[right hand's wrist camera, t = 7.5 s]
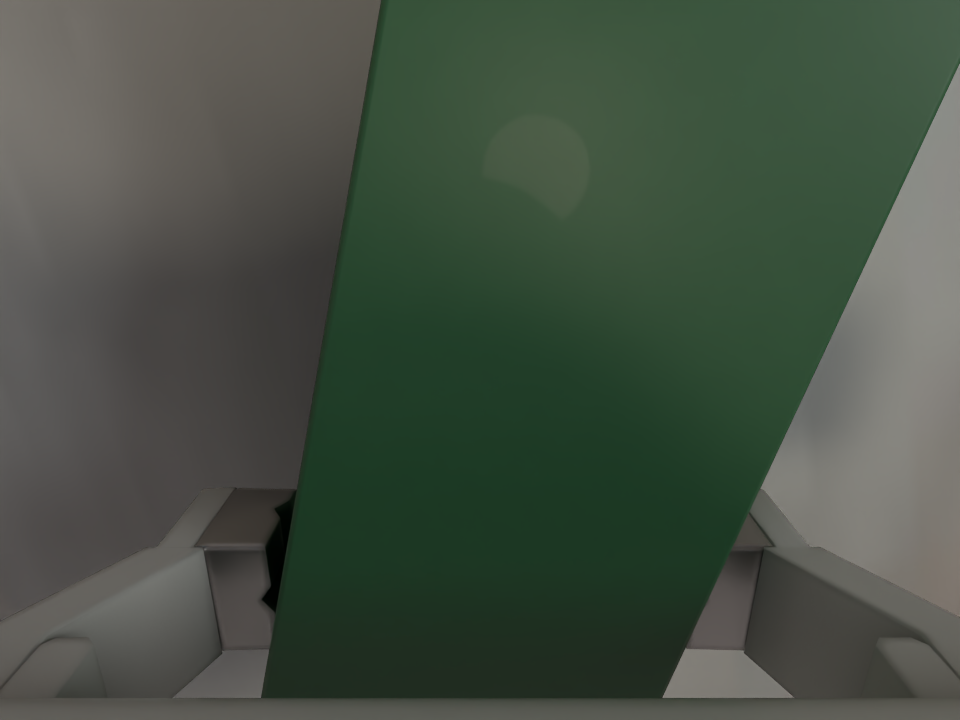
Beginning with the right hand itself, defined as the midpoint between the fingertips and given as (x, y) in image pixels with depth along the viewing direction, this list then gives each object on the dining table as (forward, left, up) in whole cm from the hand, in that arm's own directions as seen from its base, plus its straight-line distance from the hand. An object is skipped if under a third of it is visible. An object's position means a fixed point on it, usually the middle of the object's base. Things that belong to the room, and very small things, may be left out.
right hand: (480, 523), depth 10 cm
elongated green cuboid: (+4, +3, -5) cm, 7 cm away
